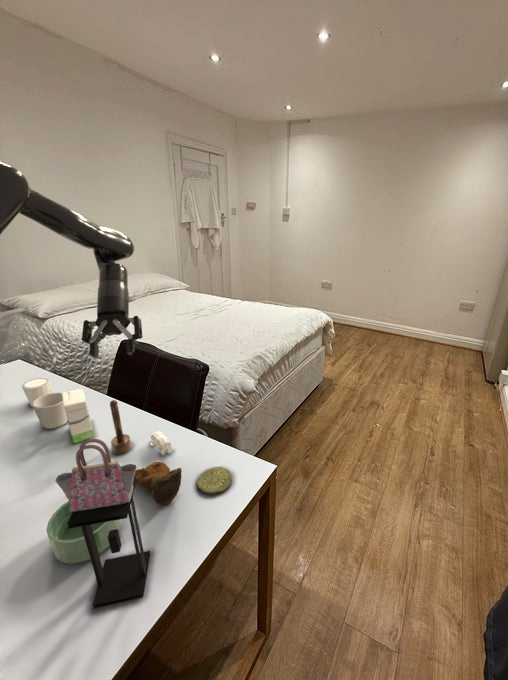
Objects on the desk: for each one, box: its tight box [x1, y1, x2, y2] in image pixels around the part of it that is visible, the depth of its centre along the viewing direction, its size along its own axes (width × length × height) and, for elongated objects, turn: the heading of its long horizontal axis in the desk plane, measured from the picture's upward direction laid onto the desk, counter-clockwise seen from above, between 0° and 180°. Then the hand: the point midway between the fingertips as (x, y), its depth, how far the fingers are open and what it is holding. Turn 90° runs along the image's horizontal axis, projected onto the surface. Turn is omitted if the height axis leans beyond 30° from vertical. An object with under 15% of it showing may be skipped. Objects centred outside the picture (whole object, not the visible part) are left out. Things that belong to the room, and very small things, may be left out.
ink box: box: [61, 387, 95, 444], centre depth 88 cm, size 9×5×12 cm, turn 38°
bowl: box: [46, 500, 122, 565], centre depth 62 cm, size 11×11×6 cm
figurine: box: [149, 430, 173, 456], centre depth 85 cm, size 2×8×5 cm, turn 50°
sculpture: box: [135, 461, 183, 506], centre depth 72 cm, size 8×10×15 cm
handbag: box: [54, 438, 151, 610], centre depth 50 cm, size 10×7×30 cm
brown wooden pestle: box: [109, 399, 132, 456], centre depth 82 cm, size 4×4×15 cm
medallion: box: [196, 466, 233, 495], centre depth 76 cm, size 8×8×1 cm
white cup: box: [21, 377, 52, 407], centre depth 101 cm, size 7×7×7 cm
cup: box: [31, 392, 68, 430], centre depth 93 cm, size 11×8×8 cm
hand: (112, 356), depth 85 cm, fingers open, 8 cm apart
